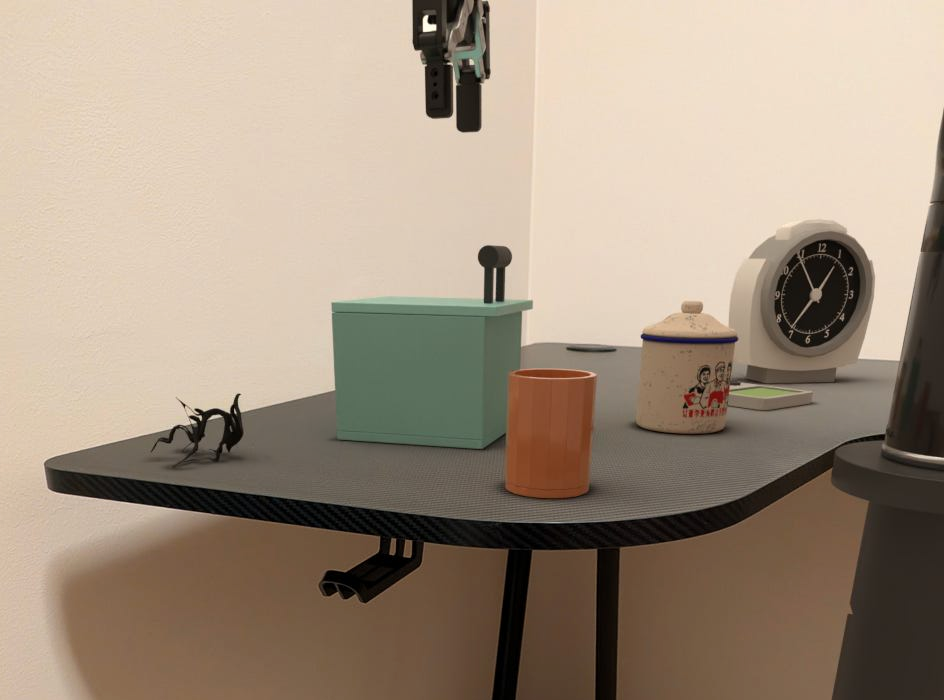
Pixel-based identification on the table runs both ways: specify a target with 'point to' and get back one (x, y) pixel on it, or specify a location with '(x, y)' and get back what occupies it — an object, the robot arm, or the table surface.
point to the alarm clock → (802, 303)
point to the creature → (198, 431)
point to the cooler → (423, 377)
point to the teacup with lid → (685, 373)
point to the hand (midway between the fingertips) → (455, 125)
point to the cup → (549, 432)
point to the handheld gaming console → (765, 396)
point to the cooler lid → (451, 306)
